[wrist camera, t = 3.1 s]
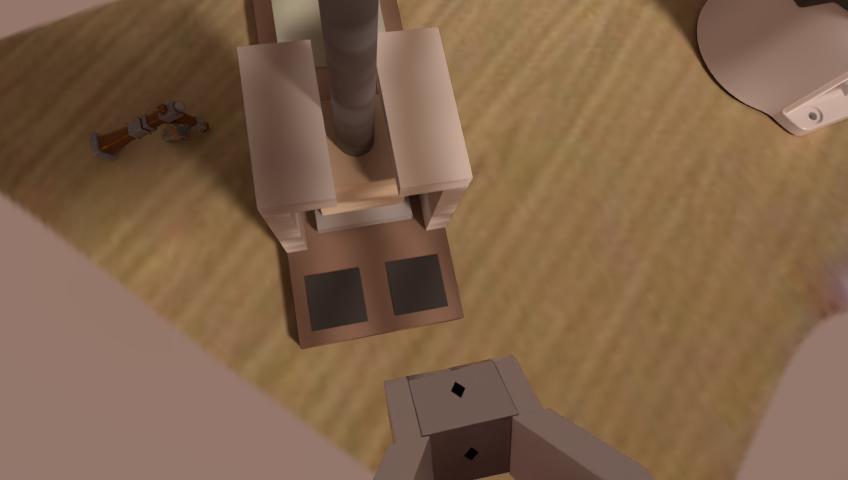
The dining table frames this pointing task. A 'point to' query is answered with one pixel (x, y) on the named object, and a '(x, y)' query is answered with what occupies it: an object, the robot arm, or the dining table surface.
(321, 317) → the tunnel track
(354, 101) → the rod on wooden block
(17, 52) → the dining table surface
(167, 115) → the toy flintlock pistol
